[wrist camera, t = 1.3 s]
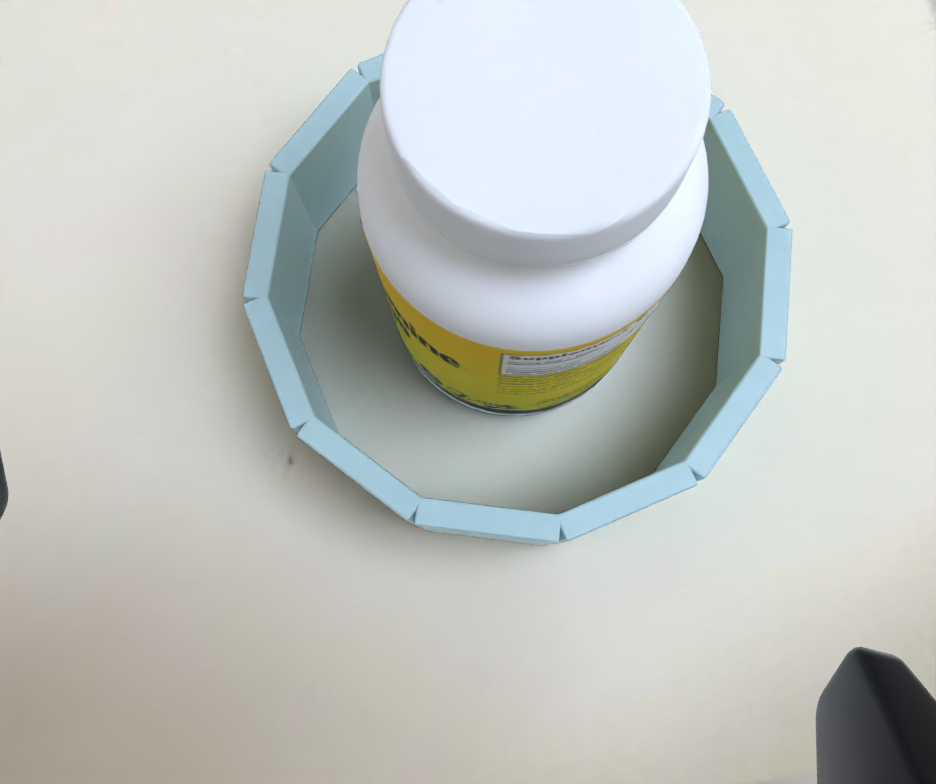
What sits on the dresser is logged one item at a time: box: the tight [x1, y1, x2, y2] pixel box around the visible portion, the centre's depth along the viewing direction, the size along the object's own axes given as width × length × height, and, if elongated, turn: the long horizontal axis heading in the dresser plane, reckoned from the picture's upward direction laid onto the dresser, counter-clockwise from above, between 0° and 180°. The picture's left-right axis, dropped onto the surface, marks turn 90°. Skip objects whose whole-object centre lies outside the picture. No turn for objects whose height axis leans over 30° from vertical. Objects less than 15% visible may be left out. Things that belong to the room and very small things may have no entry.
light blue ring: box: [243, 54, 792, 545], centre depth 21 cm, size 12×12×4 cm
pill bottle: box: [357, 0, 711, 416], centre depth 17 cm, size 6×6×11 cm
